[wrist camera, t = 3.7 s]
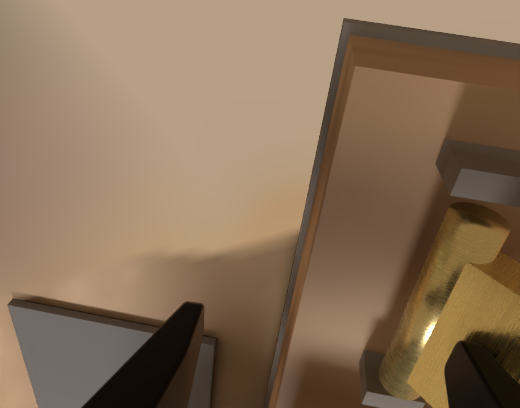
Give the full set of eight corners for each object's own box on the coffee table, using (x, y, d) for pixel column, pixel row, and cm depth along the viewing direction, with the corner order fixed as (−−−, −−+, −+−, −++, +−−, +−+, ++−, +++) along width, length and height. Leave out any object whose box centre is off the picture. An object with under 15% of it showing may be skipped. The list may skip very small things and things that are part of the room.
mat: (206, 449, 25) (204, 456, 25) (46, 415, 26) (42, 421, 25) (216, 338, 20) (214, 345, 19) (13, 298, 20) (7, 304, 20)
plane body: (368, 467, 23) (377, 594, 19) (255, 444, 24) (238, 562, 19) (580, 52, 11) (749, 127, 7) (343, 18, 12) (351, 66, 7)
